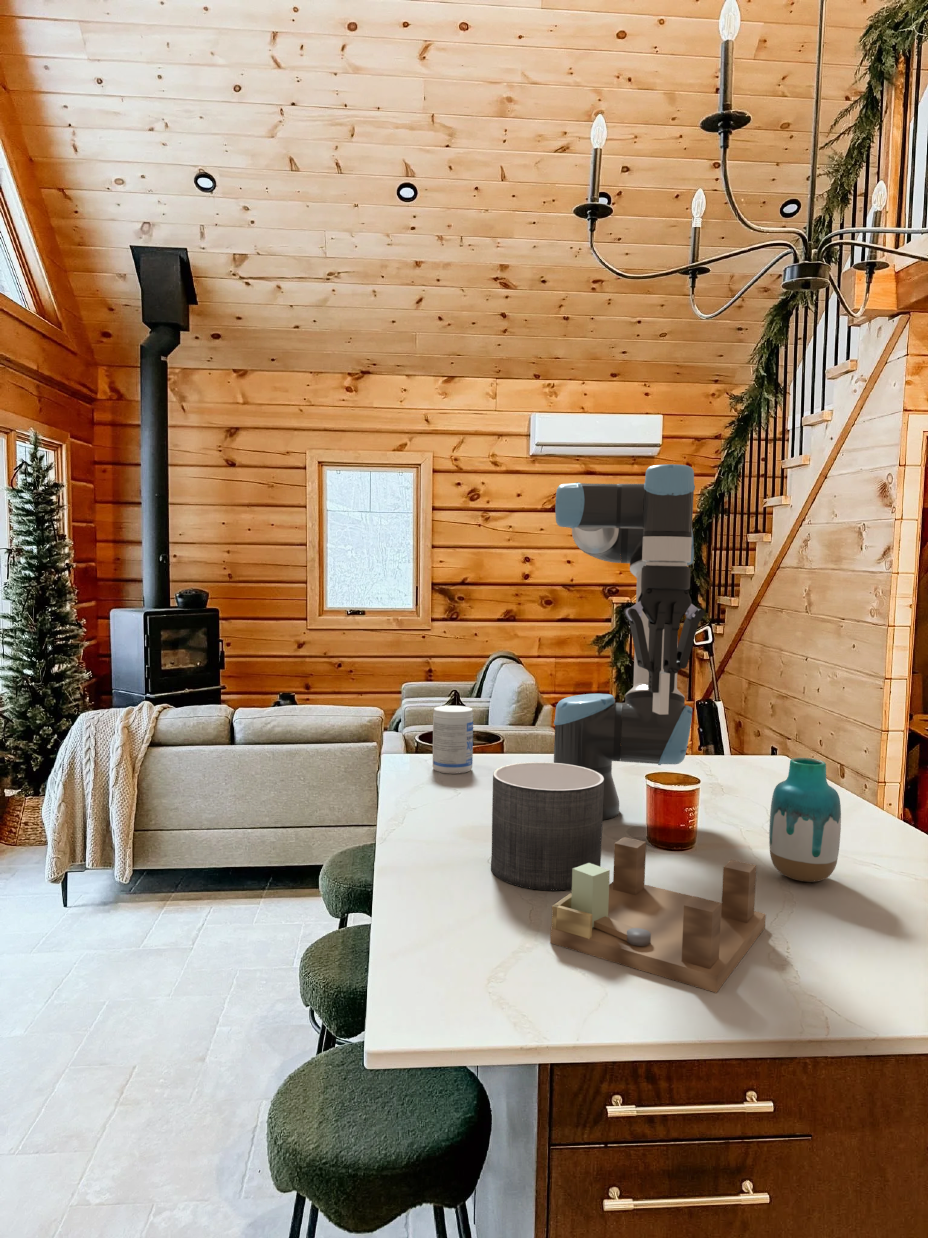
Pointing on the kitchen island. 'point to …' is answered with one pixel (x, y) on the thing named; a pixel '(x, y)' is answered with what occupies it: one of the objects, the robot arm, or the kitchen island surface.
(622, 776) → the kitchen island surface
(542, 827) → the planter
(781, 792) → the vase
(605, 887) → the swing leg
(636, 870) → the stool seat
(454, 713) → the supplement tub
